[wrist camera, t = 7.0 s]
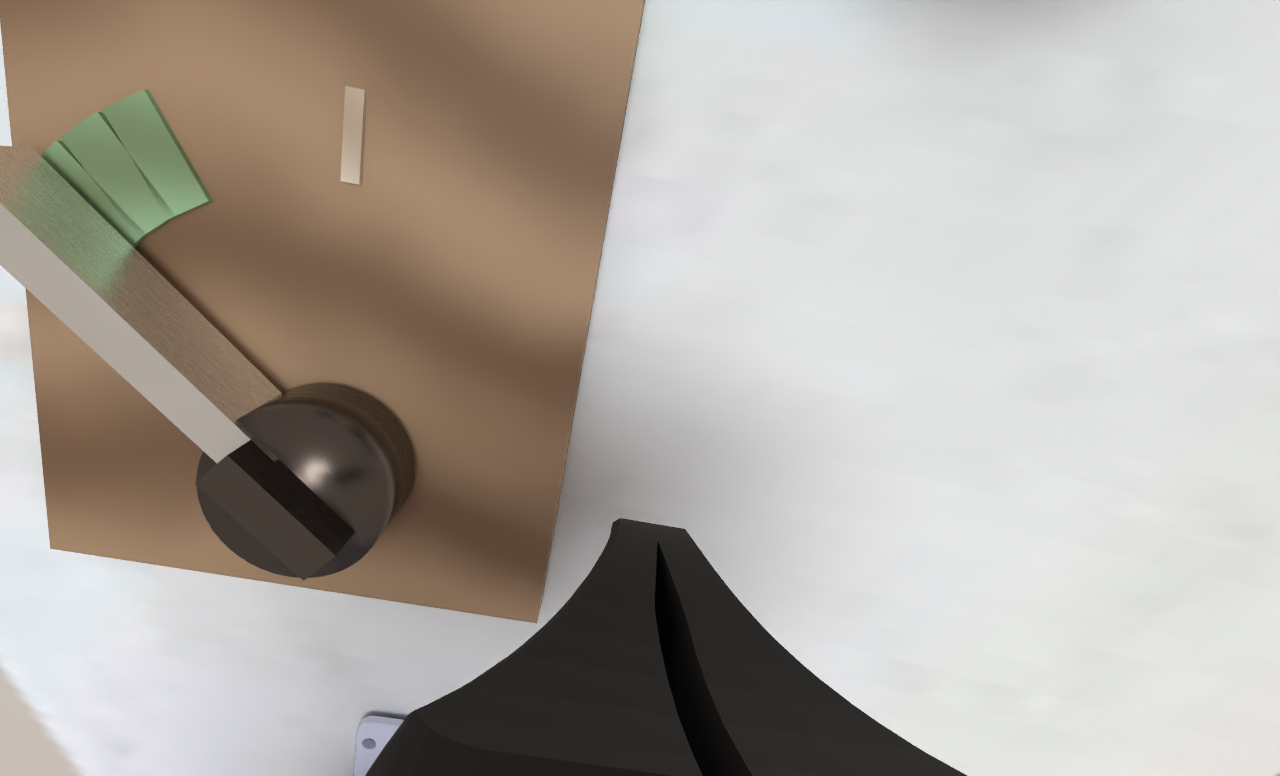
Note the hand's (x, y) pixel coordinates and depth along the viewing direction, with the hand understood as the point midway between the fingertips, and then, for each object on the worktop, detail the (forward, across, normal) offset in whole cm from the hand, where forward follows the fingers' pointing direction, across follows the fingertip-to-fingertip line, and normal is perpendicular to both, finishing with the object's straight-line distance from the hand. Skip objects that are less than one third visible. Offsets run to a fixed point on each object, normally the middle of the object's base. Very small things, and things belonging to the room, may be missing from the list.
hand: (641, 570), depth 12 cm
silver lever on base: (+8, +12, 0) cm, 15 cm away
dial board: (+9, +10, -2) cm, 14 cm away
